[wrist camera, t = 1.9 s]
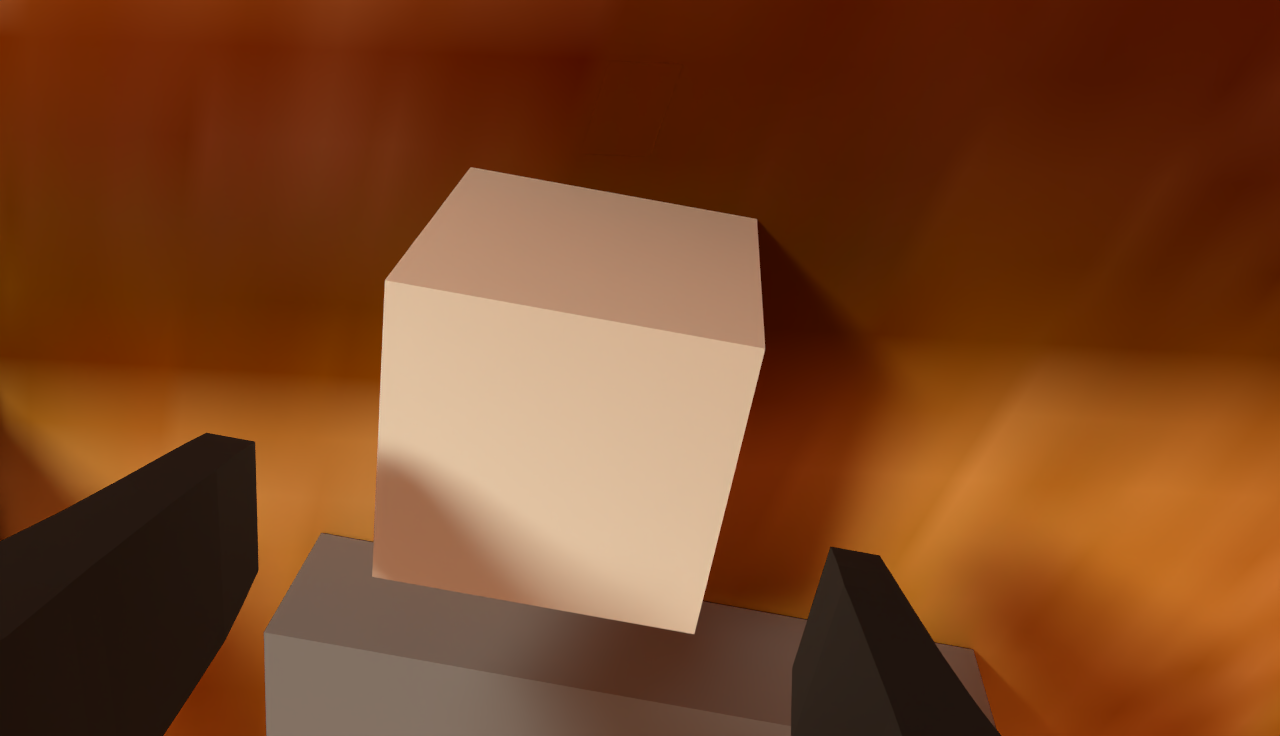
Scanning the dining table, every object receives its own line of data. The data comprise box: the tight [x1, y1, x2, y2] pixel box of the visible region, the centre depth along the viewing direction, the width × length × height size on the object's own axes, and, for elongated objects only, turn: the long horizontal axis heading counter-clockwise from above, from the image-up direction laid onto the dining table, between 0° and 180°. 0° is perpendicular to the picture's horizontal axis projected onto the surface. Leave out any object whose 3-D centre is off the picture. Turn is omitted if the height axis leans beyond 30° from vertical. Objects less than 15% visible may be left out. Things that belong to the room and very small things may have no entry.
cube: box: [372, 167, 765, 634], centre depth 17 cm, size 5×5×5 cm
